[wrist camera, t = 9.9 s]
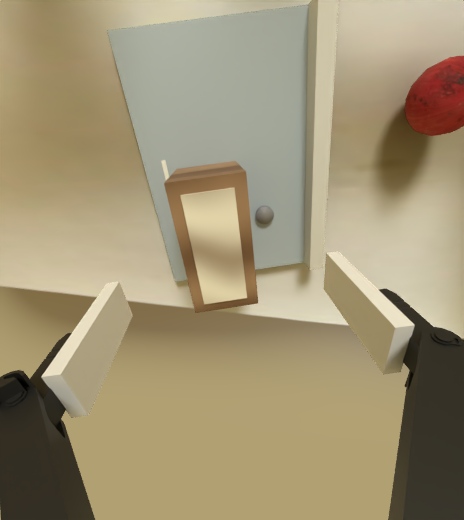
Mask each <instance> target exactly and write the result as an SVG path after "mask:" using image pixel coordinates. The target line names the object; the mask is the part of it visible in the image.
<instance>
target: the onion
mask: <svg viewBox="0 0 464 520" xmlns="http://www.w3.org/2000/svg"><path fill="white" fill-rule="evenodd" d="M405 113H406V118H407V121H408V123H409V124H410V125H411V127H412V128H413V129H414V130H415V131H417V132H420V133H423V134H426V135H430V136H434V135H441V134H446V133H451V132H453V131H455V130H457V129H459V128H461V127H463V126H464V56H456V57H450V58H448V59H446V60H444V61H442V62H440V63H438V64H436V65H434V66H432V67H430V68H428V69H427V70H426V71H425V72H424V73H423V74H422V75H421V76H420V77H419V78H418V79H417V81H416V82H415V83H414V84H413V85H412V86H411V89H410V91H409V93H408V95H407V98H406V104H405Z"/></svg>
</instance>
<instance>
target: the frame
mask: <svg viewBox="0 0 464 520" xmlns="http://www.w3.org/2000/svg"><path fill="white" fill-rule="evenodd" d="M164 186H165V190H166V194H167V198H168V202H169V206H170V210H171V214H172V218H173V222H174V226H175V231H176V235H177V239H178V243H179V247H180V251H181V255H182V259H183V263H184V267H185V271H186V276H187V280H188V284H189V288H190V292H191V296H192V300H193V304H194V308H195V312H196V313H198V312H204V311H211V310H217V309H224V308H230V307H237V306H243V305H250V304H256V303H258V296H257V285H256V274H255V263H254V252H253V241H252V230H251V219H250V208H249V197H248V186H247V175H246V171H245V170H244V169H243V168H242V167H241V166H240V165H239V164H238V163H237V162H236V161H230V162H223V163H216V164H209V165H202V166H195V167H188V168H181V169H176V170H175V171H174V172H173V174H172V175H171V176H170V177H169V178H168V179H167V180H166V181H165V183H164Z"/></svg>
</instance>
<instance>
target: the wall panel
mask: <svg viewBox="0 0 464 520" xmlns="http://www.w3.org/2000/svg"><path fill="white" fill-rule="evenodd" d="M338 7H339V0H312V1H311V2H310V3H309V5H302V6H294V7H286V8H279V9H271V10H263V11H255V12H247V13H240V14H232V15H224V16H216V17H208V18H200V19H193V20H185V21H177V22H169V23H161V24H153V25H146V26H138V27H130V28H122V29H114V30H107V32H108V36H109V40H110V43H111V47H112V51H113V54H114V58H115V62H116V65H117V69H118V73H119V76H120V80H121V84H122V87H123V91H124V95H125V98H126V102H127V106H128V109H129V113H130V117H131V120H132V124H133V128H134V131H135V135H136V139H137V142H138V146H139V150H140V153H141V157H142V161H143V164H144V168H145V172H146V175H147V179H148V183H149V186H150V190H151V194H152V197H153V201H154V205H155V208H156V212H157V216H158V219H159V223H160V227H161V230H162V234H163V238H164V241H165V245H166V249H167V252H168V256H169V260H170V263H171V267H172V271H173V274H174V278H175V282H177V281H184V280H187V276H186V271H185V267H184V263H183V259H182V255H181V251H180V247H179V243H178V239H177V235H176V231H175V226H174V222H173V218H172V214H171V210H170V206H169V202H168V198H167V194H166V190H165V186H164V183H165V181H166V180H167V179H168V178H169V177H170V176H171V175H172V174H173V172H174V171H175V170H176V169H181V168H188V167H195V166H202V165H209V164H216V163H223V162H230V161H236V162H237V163H238V164H239V165H240V166H241V167H242V168H243V169H244V170H245V171H246V175H247V186H248V197H249V208H250V219H251V230H252V241H253V252H254V263H255V270H257V269H263V268H270V267H277V266H283V265H290V264H297V263H303V262H304V263H305V264H306V266H307V267H308V268H309V270H314V269H321V268H323V261H324V244H325V227H326V210H327V193H328V176H329V159H330V142H331V125H332V108H333V91H334V75H335V58H336V41H337V24H338Z"/></svg>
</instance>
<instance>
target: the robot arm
mask: <svg viewBox="0 0 464 520" xmlns="http://www.w3.org/2000/svg"><path fill="white" fill-rule="evenodd" d="M324 290H325V291H326V293H327V294H328V296H329V297H330V298H331V300H332V301H333V303H334V304H335V306H336V307H337V309H338V310H339V311H340V313H341V314H342V316H343V317H344V319H345V320H346V321H347V323H348V324H349V326H350V327H351V329H352V330H353V331H354V333H355V334H356V336H357V337H358V338H359V340H360V341H361V343H362V344H363V346H364V347H365V349H366V350H367V352H368V353H369V354H370V356H371V357H372V358H373V360H374V362H375V363H376V364H377V366H378V367H379V369H380V370H381V372H382V373H383V374H389V373H397V372H401V369H402V366H403V363H405V365H406V366H407V367H408V368H409V370H410V371H409V375H408V378H407V381H406V384H405V387H407V389H406V396H405V403H404V410H403V417H402V425H401V432H400V439H399V446H398V453H397V461H396V468H395V475H394V482H393V490H392V497H391V504H390V511H389V519H388V520H464V340H462V339H461V338H460V337H459V336H458V335H456V334H454V333H453V332H451V331H448V330H446V329H443V328H437V327H433V326H432V325H431V324H430V323H429V322H427V321H426V320H425V319H424V318H423V317H422V316H421V315H420V314H418V313H417V312H416V311H415V310H414V309H413V308H412V307H411V308H410V306H409V305H408V304H407V303H406V302H404V300H403V299H402V298H400V297H399V296H398V295H397V294H396V293H394V292H392V291H390V290H388V289H380V290H378V289H377V288H376V287H375V286H374V285H373V284H372V283H371V282H370V281H369V280H368V279H367V278H366V277H365V276H363V275H362V274H361V273H360V272H359V271H358V270H357V269H356V268H355V267H354V266H353V265H352V264H351V263H350V262H349V261H348V260H347V259H346V258H345V257H344V256H343V255H342V254H341V253H340V252H339V251H337V252H329V253H326V264H325V279H324ZM132 316H133V315H132V312H131V310H130V308H129V305H128V302H127V300H126V297H125V295H124V293H123V290H122V288H121V285H120V283H119V282H113V283H107V284H106V285H105V287H104V288H103V290H102V291H101V293H100V294H99V295H98V297H97V298H96V300H95V301H94V303H93V304H92V306H91V307H90V308H89V310H88V311H87V313H86V314H85V315H84V317H83V318H82V320H81V321H80V322H79V324H78V325H77V327H76V328H75V330H74V331H73V333H68V334H66V335H65V336H64V337H63V338H61V339H60V340H59V341H58V342H57V343H56V345H55V346H54V347H53V349H52V351H51V352H50V353H49V354H48V356H47V357H46V359H44V361H43V362H42V364H41V365H40V366H39V368H38V369H37V370H36V372H35V373H34V374H33V376H32V377H31V378H30V379H29V378H28V376H27V375H26V374H25V373H24V371H20V370H17V371H13V372H10V373H7V374H5V375H3V376H1V377H0V510H1V520H95V518H94V515H93V512H92V508H91V505H90V503H89V500H88V496H87V493H86V490H85V487H84V484H83V480H82V477H81V474H80V471H79V468H78V465H77V462H76V459H75V456H74V453H73V449H72V446H71V443H70V440H69V437H68V434H67V431H66V427H65V424H64V422H63V421H62V420H61V418H62V416H63V414H64V412H65V410H66V411H67V412H68V414H69V415H70V416H71V418H73V417H81V416H88V415H89V414H90V411H91V409H92V407H93V405H94V402H95V400H96V398H97V395H98V393H99V391H100V389H101V386H102V384H103V382H104V380H105V377H106V375H107V373H108V371H109V368H110V366H111V364H112V361H113V359H114V357H115V354H116V352H117V350H118V348H119V346H120V343H121V341H122V339H123V336H124V334H125V332H126V330H127V327H128V325H129V323H130V320H131V318H132Z"/></svg>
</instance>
